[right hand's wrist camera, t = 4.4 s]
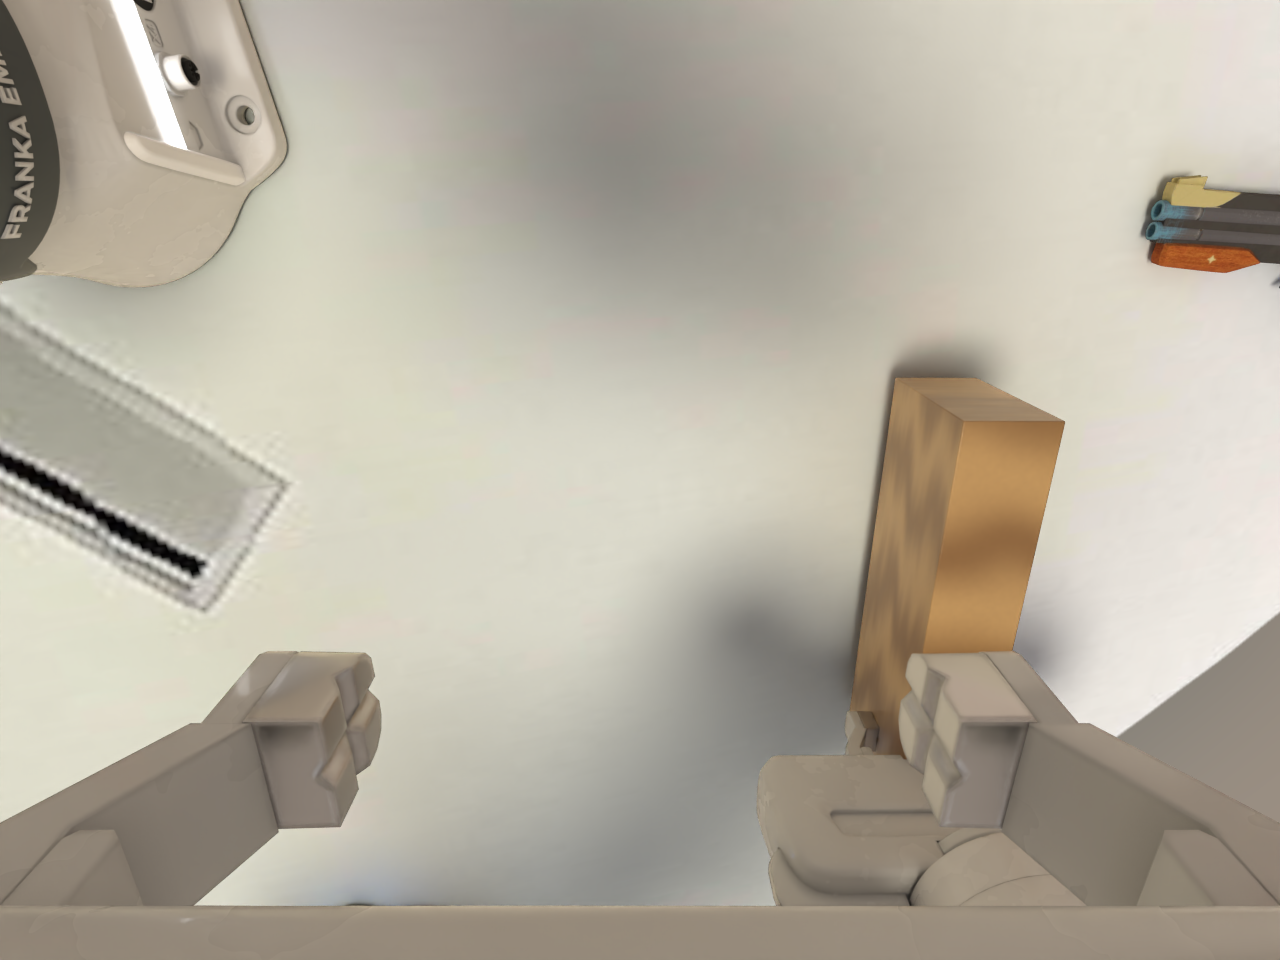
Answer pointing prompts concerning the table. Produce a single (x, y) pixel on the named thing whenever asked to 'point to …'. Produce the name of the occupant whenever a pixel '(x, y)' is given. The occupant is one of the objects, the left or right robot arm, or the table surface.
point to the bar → (950, 533)
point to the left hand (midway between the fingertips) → (905, 719)
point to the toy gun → (1213, 227)
